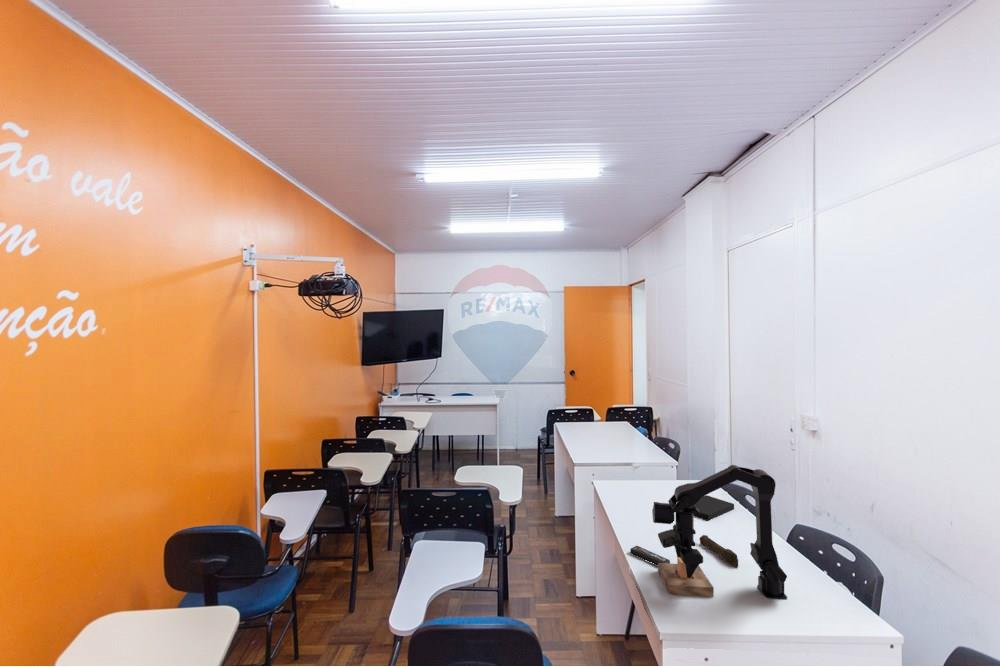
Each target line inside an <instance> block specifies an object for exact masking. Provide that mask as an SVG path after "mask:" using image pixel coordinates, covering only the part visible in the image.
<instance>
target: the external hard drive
mask: <svg viewBox="0 0 1000 667" xmlns="http://www.w3.org/2000/svg"><path fill="white" fill-rule="evenodd" d="M695 507H696V508H697V509H698V510H699V512H700V514H694V517H695V518H696V517H697V518H699V519H701V518H702V519H701V520H704V519H705V521H707V522H709V521H711V519H712V520H714V519H716V518H718V517H720V516H722V515H725V514H727V513H729V512H731V511H733V510H735V503H732V502H730V501H729V502H728V501H727V500H722V499H720V498H717V497H714V496H710V495H708V494H707V495H705V496H704V497H703V498H702V499H701V500H700V501H699V502H698V503H696V504H695ZM713 518H714V519H713Z"/></svg>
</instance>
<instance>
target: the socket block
mask: <svg viewBox="0 0 1000 667" xmlns="http://www.w3.org/2000/svg"><path fill="white" fill-rule="evenodd" d="M657 572H658V574H659V576H660V578H661V581H662V582H664V583H663V585H664V587H665V589H666V590H667V593H668V595H672V596H673V595H676V596H677V595H678V596H694V597H695V596H697V597H710V596H715V595H714V594H715V593H714V587H715V586H713V584H712V583H711V582H710V580H709V579H708V577H707V575H706V574H705V573H704V571H703V569H702V568H701V567H700V564H699V565H698V567H697V568H696V570H695V572H694V573H693V575H692V579H681V578H678V576H677V563H671V562H670V563H658V566H657Z"/></svg>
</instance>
